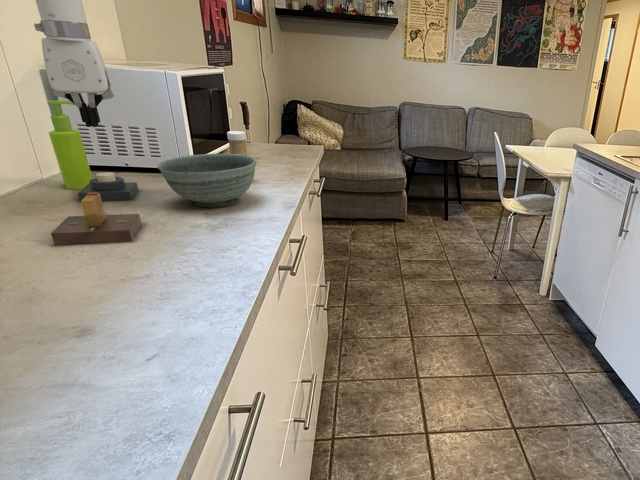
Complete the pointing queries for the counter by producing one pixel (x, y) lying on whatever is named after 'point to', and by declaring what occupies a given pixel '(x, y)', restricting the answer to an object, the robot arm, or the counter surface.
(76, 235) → the plate
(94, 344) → the counter surface
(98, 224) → the tan wooden block
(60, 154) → the soap dispenser
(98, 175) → the bell button
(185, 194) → the bowl
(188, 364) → the counter surface
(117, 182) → the block
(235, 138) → the sprinkles bottle
